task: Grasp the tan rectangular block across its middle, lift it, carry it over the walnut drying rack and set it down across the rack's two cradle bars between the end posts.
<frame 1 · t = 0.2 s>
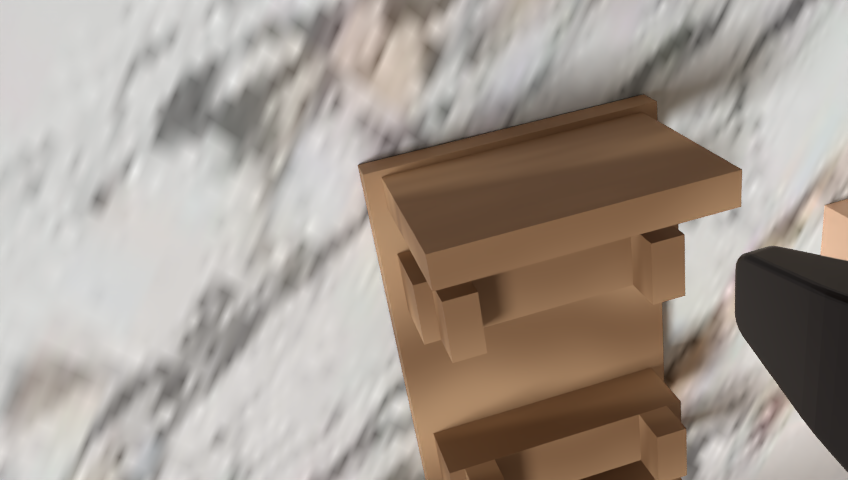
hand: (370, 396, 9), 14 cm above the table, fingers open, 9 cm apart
rack: (528, 328, 27), on the table
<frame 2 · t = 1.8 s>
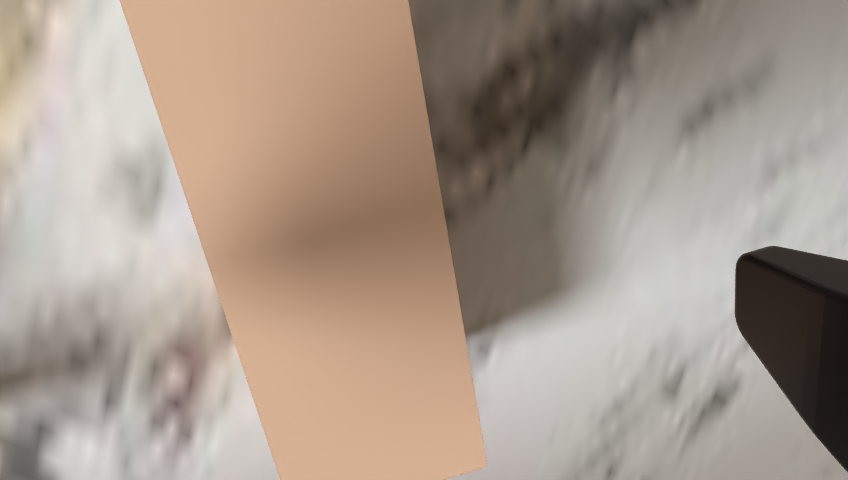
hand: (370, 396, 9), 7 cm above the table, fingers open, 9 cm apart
tan rectangular block: (302, 159, 15), on the table
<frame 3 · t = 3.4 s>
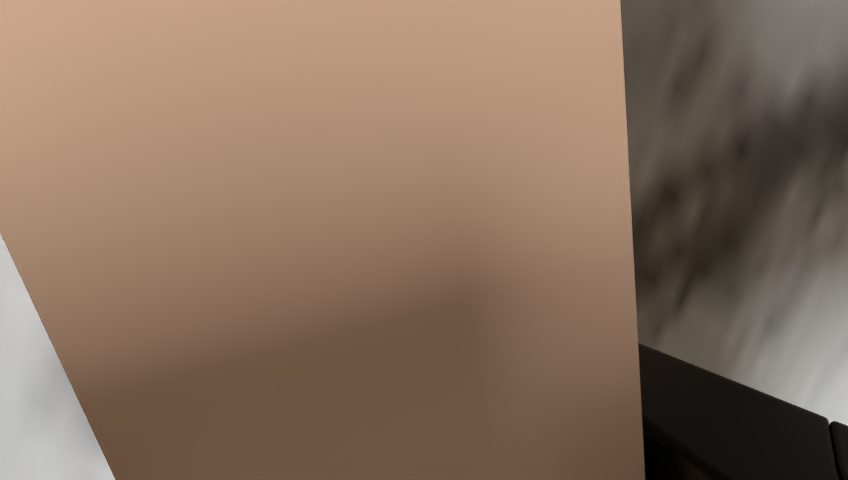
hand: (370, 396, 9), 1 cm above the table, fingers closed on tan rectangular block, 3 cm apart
tan rectangular block: (352, 340, 10), on the table, touching gripper
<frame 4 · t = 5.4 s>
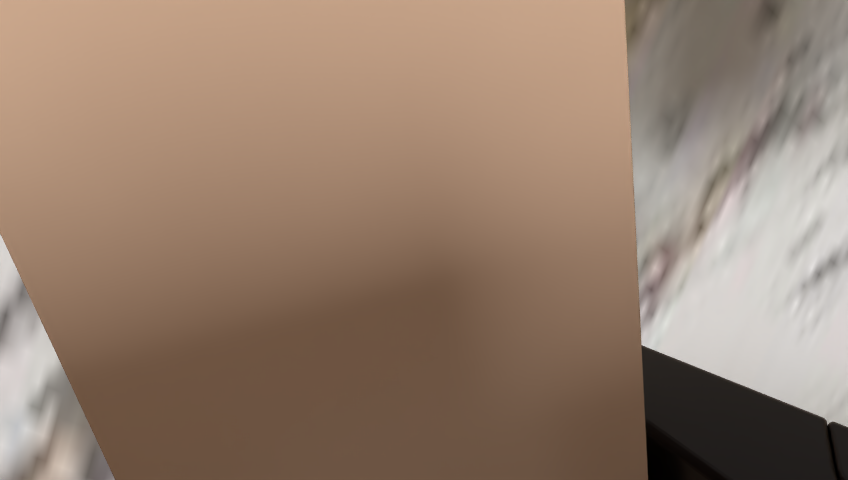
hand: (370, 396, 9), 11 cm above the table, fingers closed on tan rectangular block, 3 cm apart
tan rectangular block: (352, 336, 10), point 10 cm above the table, touching gripper
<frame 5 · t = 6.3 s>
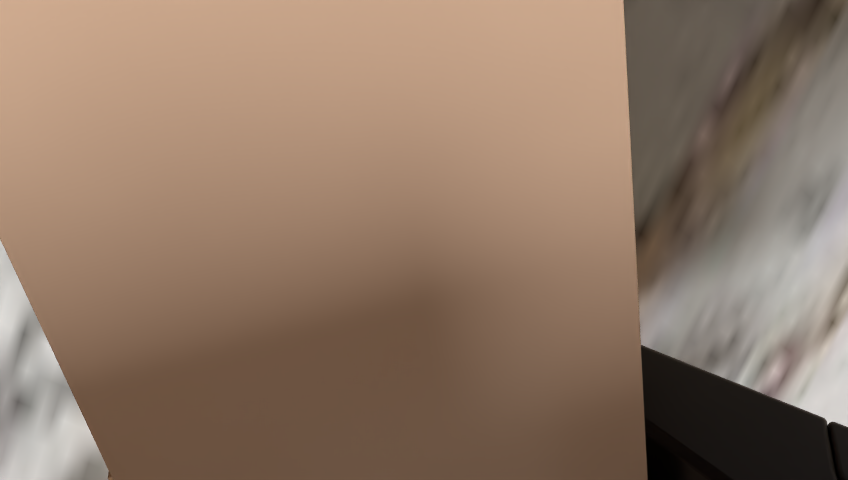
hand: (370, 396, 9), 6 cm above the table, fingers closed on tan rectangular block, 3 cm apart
tan rectangular block: (351, 336, 10), point 5 cm above the table, touching gripper
when the fingers open (5 cm above the table, at t = 7.1 s): tan rectangular block drops 1 cm, resting on rack.
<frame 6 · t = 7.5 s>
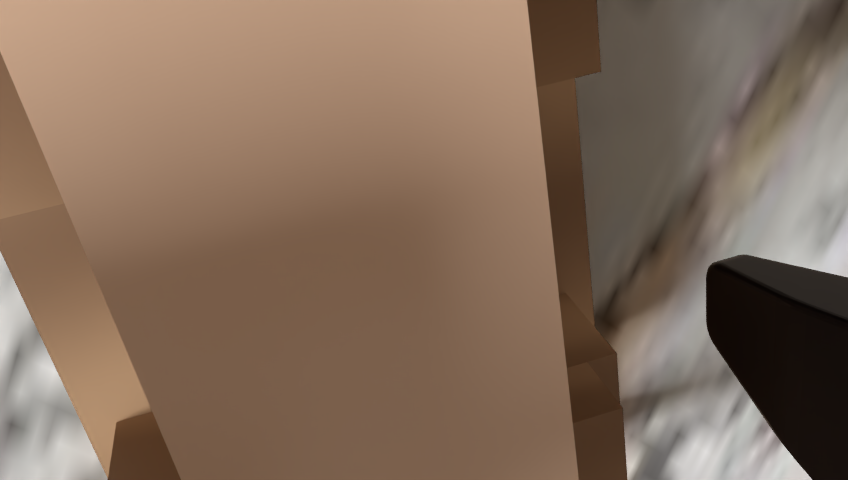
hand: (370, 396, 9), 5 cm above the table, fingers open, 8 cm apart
tan rectangular block: (332, 281, 11), point 3 cm above the table, touching rack
rack: (311, 208, 13), on the table
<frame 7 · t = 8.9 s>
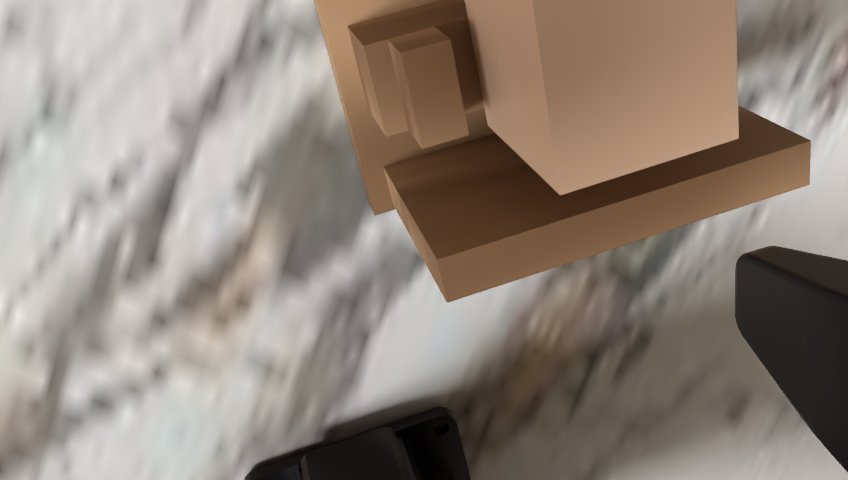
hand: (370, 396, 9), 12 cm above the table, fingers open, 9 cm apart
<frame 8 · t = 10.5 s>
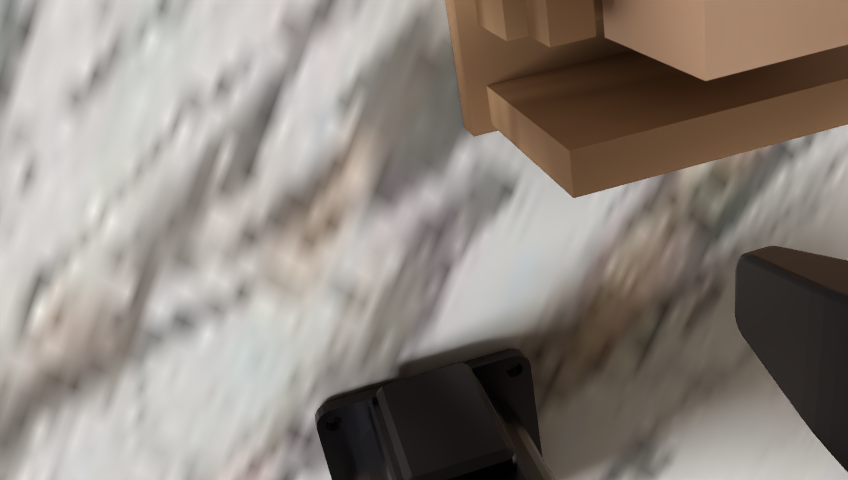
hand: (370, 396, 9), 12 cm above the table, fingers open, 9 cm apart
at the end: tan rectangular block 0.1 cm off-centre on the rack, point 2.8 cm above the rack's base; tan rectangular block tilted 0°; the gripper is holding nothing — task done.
